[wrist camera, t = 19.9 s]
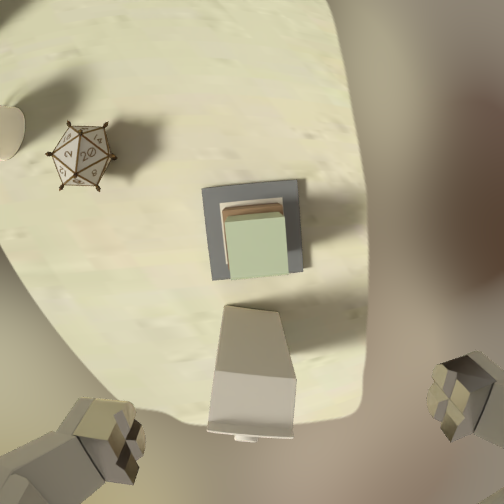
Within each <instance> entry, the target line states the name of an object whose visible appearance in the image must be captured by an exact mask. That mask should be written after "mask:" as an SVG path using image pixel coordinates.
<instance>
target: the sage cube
mask: <svg viewBox="0 0 504 504" xmlns="http://www.w3.org/2000/svg"><path fill="white" fill-rule="evenodd" d="M225 232H226V241H227V250H228V259H229V267H230V276H231V280H237V279H248V278H258V277H269V276H279V275H288V274H289V271H288V256H287V242H286V228H285V217H284V216H283V215H282V214H281V213H279V212H267V213H256V214H245V215H235V216H228V217H227V219H226V221H225Z"/></svg>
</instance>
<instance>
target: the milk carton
mask: <svg viewBox="0 0 504 504" xmlns="http://www.w3.org/2000/svg"><path fill="white" fill-rule="evenodd" d="M296 382H297V379H296V376H295V372H294V368H293V364H292V361H291V357H290V353H289V349H288V345H287V342H286V338H285V334H284V330H283V326H282V323H281V319H280V315H279V313H278V312H273V311H265V310H257V309H249V308H242V307H235V306H227V305H225V306H224V309H223V315H222V322H221V329H220V335H219V342H218V349H217V356H216V362H215V369H214V377H213V385H212V392H211V401H210V409H209V417H208V425H207V431H208V432H213V433H221V434H229V435H235V440H236V441H244V442H258V438H259V437H265V438H286V439H293V438H294V434H293V418H294V407H295V395H296Z"/></svg>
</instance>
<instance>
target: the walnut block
mask: <svg viewBox="0 0 504 504" xmlns="http://www.w3.org/2000/svg"><path fill="white" fill-rule="evenodd" d="M267 212H279V213H281V214H282V215H283V205H281V204H279V203H277V202H276V203H264V204H253V205H243V206H233V207H225V208H224V209H223V210H222V216H223V225H224V235H225V244H226V253H227V262H228V270H230V267H229V259H228V250H227V241H226V232H225V221H226V219H227V217H228V216H235V215H245V214H256V213H267Z"/></svg>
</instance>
